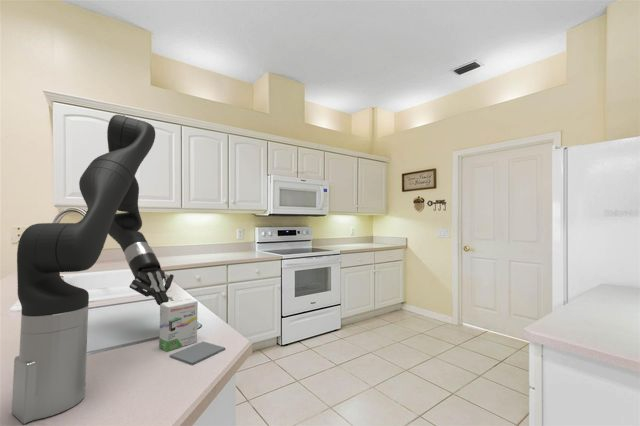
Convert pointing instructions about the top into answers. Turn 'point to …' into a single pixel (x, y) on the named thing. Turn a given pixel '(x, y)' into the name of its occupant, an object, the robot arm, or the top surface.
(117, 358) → the top surface
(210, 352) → the mat
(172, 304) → the ink box
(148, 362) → the top surface
